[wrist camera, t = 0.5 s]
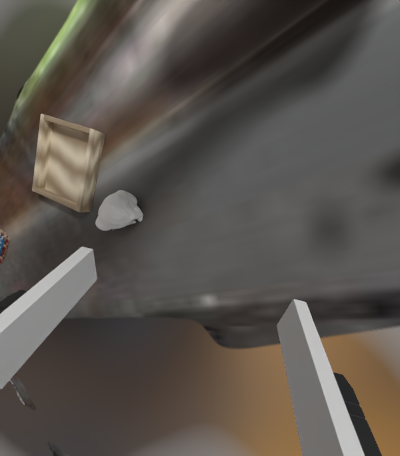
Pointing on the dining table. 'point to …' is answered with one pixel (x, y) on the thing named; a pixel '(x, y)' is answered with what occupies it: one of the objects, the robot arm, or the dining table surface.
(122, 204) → the white rounded lump
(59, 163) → the birch tray
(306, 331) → the robot arm
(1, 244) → the woven mat
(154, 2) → the dining table surface
